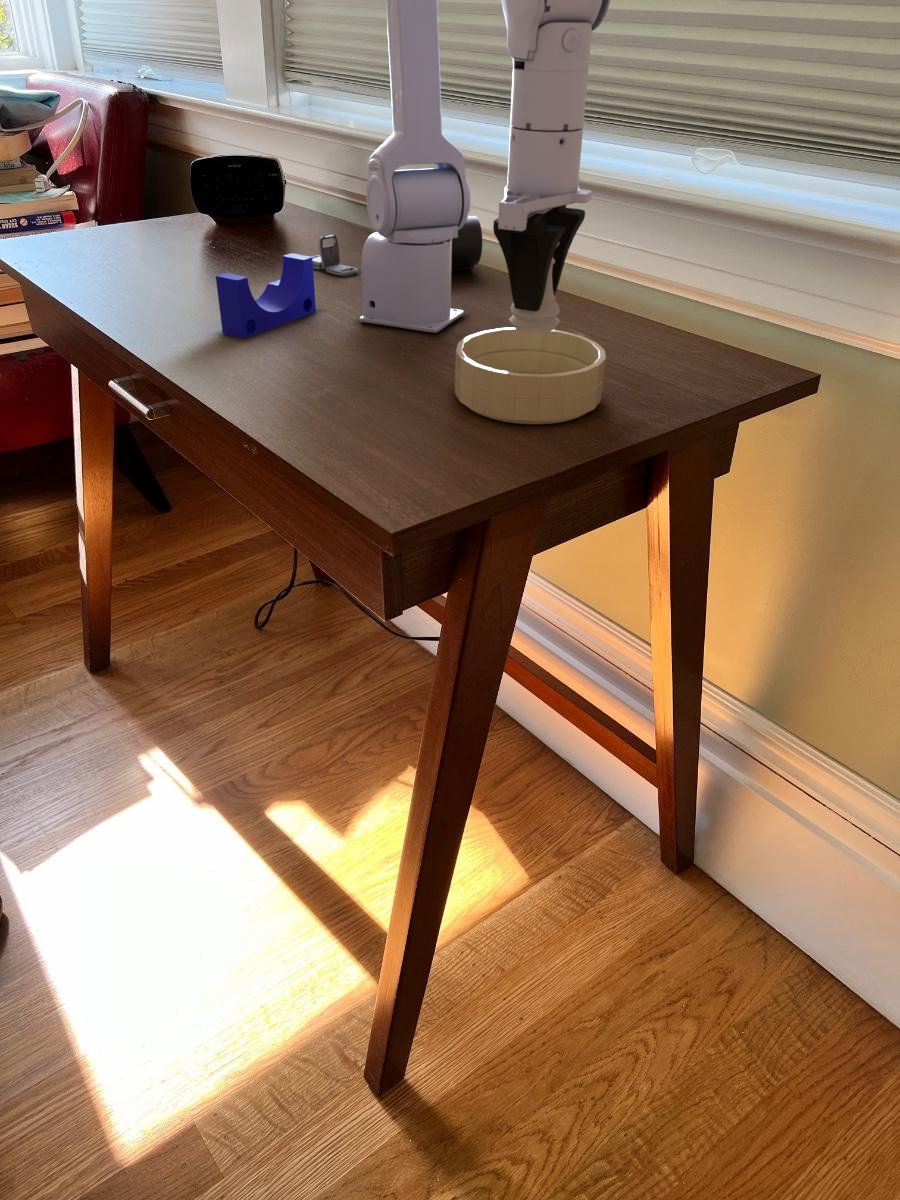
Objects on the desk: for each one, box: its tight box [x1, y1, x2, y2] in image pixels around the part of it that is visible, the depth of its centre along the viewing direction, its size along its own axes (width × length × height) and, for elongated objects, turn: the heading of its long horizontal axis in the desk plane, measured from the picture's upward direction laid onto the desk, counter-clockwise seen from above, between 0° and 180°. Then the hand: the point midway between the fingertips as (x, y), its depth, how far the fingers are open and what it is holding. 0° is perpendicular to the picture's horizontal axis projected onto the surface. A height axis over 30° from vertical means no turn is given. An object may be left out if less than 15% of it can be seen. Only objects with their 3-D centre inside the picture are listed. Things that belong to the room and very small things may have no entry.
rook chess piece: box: [509, 242, 561, 333], centre depth 77 cm, size 4×4×8 cm
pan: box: [454, 327, 607, 425], centre depth 82 cm, size 13×13×4 cm
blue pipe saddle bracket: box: [215, 252, 317, 340], centre depth 99 cm, size 12×4×6 cm, turn 148°
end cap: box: [451, 215, 484, 271], centre depth 118 cm, size 10×7×7 cm
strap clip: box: [311, 234, 359, 276], centre depth 119 cm, size 8×3×4 cm, turn 48°
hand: (534, 303), depth 78 cm, fingers closed on rook chess piece, 3 cm apart
